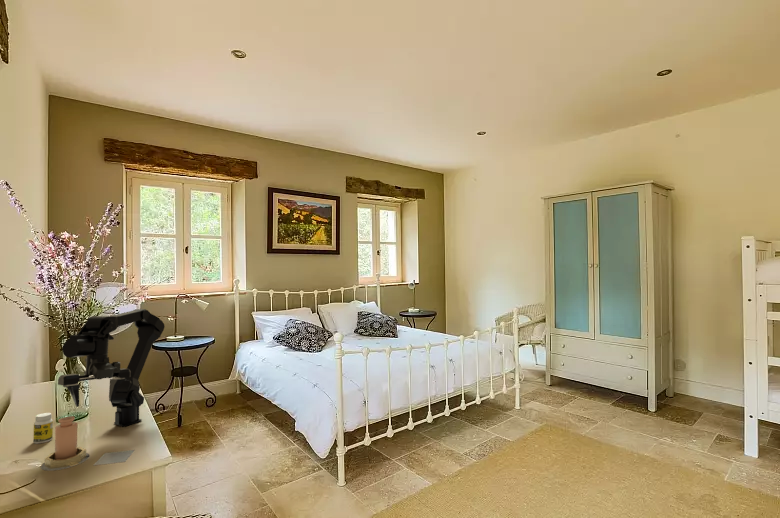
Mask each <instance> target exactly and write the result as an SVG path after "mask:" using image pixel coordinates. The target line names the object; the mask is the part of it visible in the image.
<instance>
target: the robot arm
mask: <svg viewBox="0 0 780 518" xmlns="http://www.w3.org/2000/svg"><path fill="white" fill-rule="evenodd" d="M132 323H134V326H135V327H136V328H137V331H136V333H137V338H138V341H137V343H136V346H135V348H134V351H133V352H132V355H131V358H130V360H129V361H128V365H127V367H126V368H124V367H123V368H121V362H120V361H112V363H111V362H110V357H109V342H110V340H114V336H112V335H111V333H113V332H115V331H117V329H118V328H120V327H122V326H125V325H128V324H132ZM165 328H166V327H165V323H164V322H163V320H162V319H160V317H158V316H157V315H154V314H153V313H151V312H150V311H149V310H147V309H146V308H144V309H143V308H142V309H140V308H136V309H133V310H131V311H126V312H123V313H122V312H121V313H118V314H113V315H97V316H96V315H93V316H90V317H88V318H87V320H86V322H85V323H84V325H83V326H82V327H81V328H80V330H79V331H78V333H77V334H70V335H69V338H68V339H67V340H66V341H65V342H64V343H63V345H62V348H61V349H62V353H63V355H64V356H65V357H66V358H68V359H69V358H70V359H71V358H78V357H86V358H85V359H84V362H85V370H84V374H78V373H69V374H62V375H60V376H58V379H57V385H59V386H62V387H63V388H66V389H67V390H68V392H69V393H70V395H71V398H72V400H73V402H74V405H75V407H76V408H77V407H80V387H81V384H79V382H83V381H84V382H85V381H91V380H92V381H93V380H94V381H95V380H102V379H103V380H104V379H109V389H108V391H109V392H108V400H109V402H110V403H111V406H112V408H115V407H116V411H115V413H114V422H113V424H114V425H117V426H120V427H126V426H132V425H133V424H137V423H139V422H142V419H141V418H140V407H141V406H142V405H143V404H144V403H145V402H144V401H145V397H144V395H142V393H140V390H141V389H140V388H141V386H140V382H139V381H140V380H139V378H140V376H141V374H142V372H143V369H144V366H145V365H146V361H147V359H148V356H149V353H150V351H151V349H152V347H153V344H154V343H155V342H156V341H157V340H159V338H161V335H162V334H163V332H164V329H165Z"/></svg>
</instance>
